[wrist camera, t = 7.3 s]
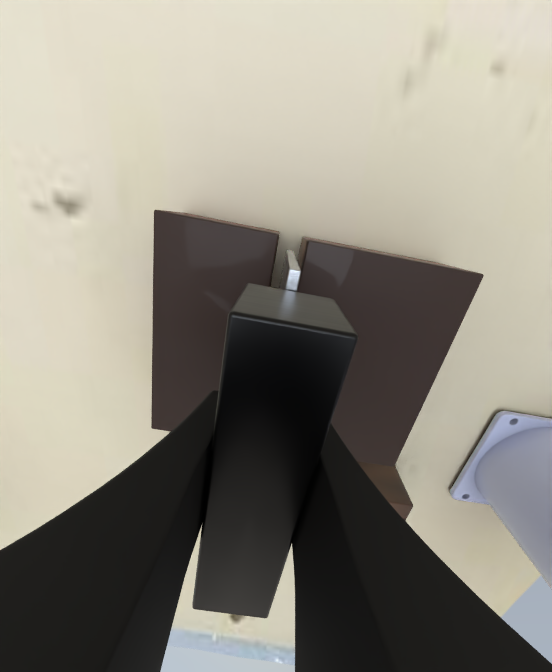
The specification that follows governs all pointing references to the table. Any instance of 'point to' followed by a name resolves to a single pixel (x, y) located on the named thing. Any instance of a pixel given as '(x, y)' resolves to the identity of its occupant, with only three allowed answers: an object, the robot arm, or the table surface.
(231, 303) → the brown rectangular block
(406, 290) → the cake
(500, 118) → the table surface
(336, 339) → the bench scraper
